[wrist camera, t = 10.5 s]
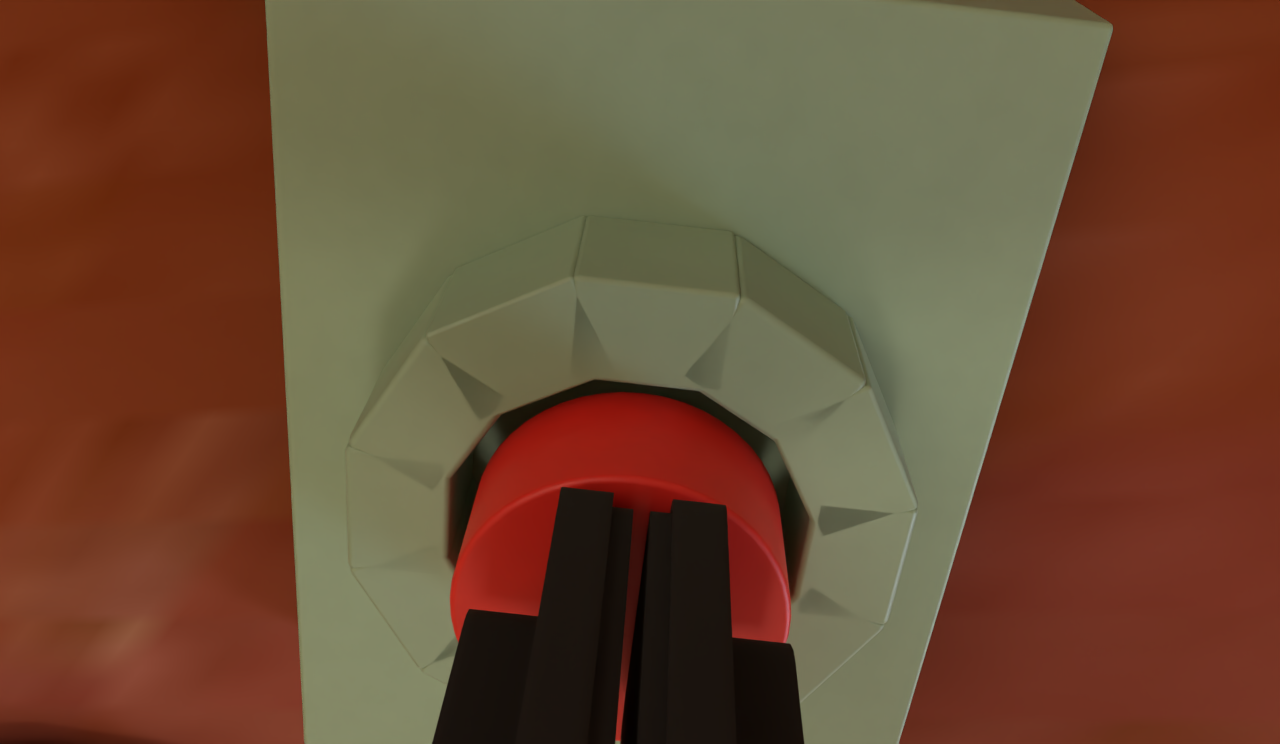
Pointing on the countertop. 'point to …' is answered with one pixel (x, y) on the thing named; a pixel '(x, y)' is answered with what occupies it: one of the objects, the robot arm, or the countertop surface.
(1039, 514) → the countertop surface
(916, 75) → the button box
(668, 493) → the button
